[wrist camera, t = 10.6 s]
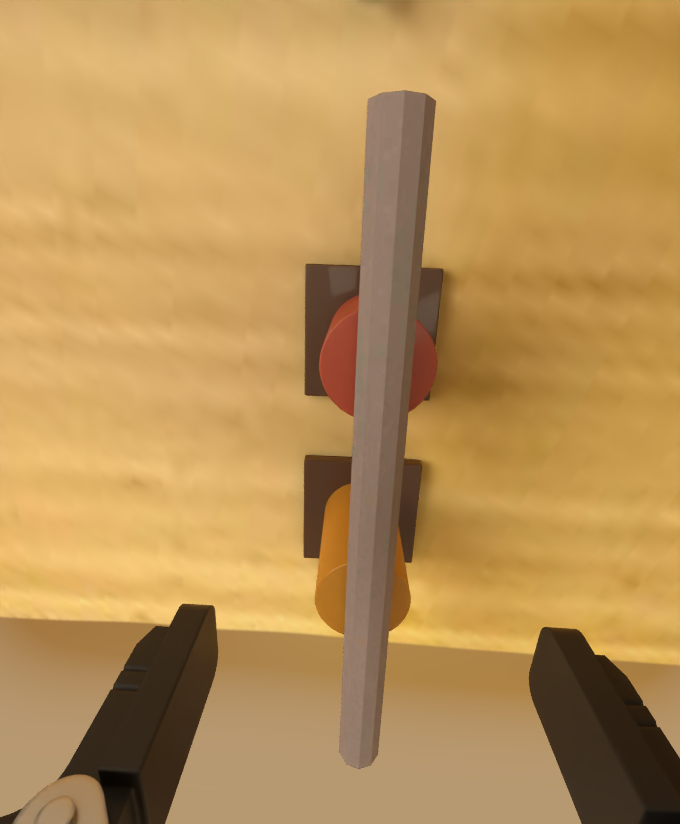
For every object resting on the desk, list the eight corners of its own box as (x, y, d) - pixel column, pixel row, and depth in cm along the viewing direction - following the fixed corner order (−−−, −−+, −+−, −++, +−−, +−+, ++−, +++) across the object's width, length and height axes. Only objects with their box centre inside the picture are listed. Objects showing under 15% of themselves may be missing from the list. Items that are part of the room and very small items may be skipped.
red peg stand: (307, 263, 22) (283, 263, 15) (440, 268, 22) (486, 271, 15) (305, 391, 25) (285, 448, 17) (427, 396, 24) (460, 456, 17)
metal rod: (340, 725, 22) (338, 768, 20) (366, 114, 13) (368, 89, 11) (376, 727, 22) (378, 770, 20) (428, 116, 13) (440, 91, 11)
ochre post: (305, 454, 26) (285, 533, 18) (420, 459, 26) (448, 540, 18) (304, 550, 28) (287, 655, 21) (410, 555, 28) (431, 662, 20)
